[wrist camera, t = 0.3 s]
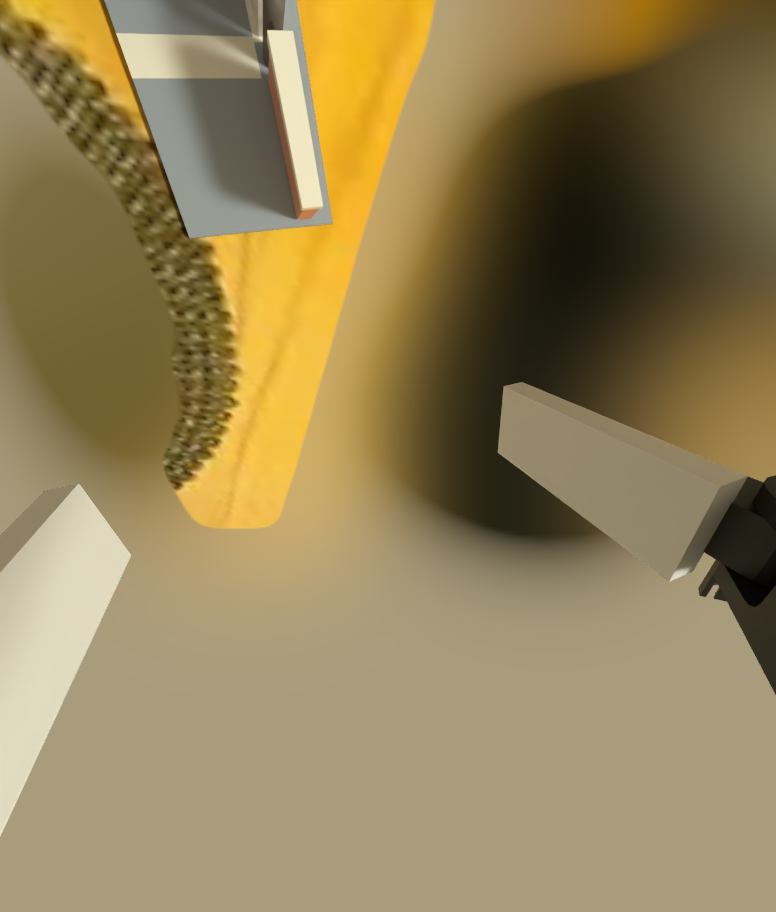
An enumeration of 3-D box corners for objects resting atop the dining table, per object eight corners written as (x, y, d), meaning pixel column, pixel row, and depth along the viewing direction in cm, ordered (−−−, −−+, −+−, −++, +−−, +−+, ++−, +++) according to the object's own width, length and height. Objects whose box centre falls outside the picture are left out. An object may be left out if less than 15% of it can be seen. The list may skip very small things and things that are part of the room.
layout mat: (34, -197, 17) (31, -205, 17) (269, -160, 20) (269, -166, 19) (190, 238, 27) (189, 238, 27) (332, 223, 29) (332, 223, 29)
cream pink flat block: (265, 80, 24) (267, 30, 19) (286, 80, 24) (293, 30, 19) (295, 219, 28) (302, 208, 23) (312, 218, 28) (323, 206, 23)
